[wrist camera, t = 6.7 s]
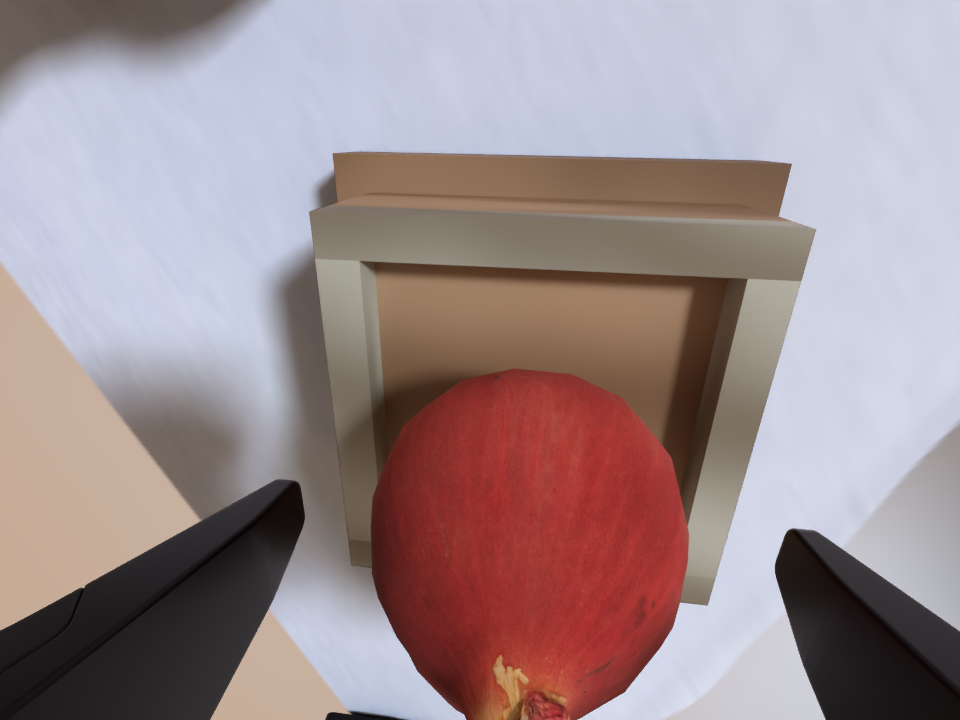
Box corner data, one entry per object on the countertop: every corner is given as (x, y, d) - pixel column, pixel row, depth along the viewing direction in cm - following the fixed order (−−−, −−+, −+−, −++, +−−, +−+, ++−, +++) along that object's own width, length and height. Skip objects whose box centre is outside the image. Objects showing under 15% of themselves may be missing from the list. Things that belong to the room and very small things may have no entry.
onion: (624, 525, 14) (713, 945, 7) (422, 501, 14) (294, 864, 7) (664, 328, 12) (870, 632, 4) (422, 308, 12) (231, 548, 5)
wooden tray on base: (683, 494, 19) (737, 635, 14) (382, 467, 20) (322, 586, 15) (760, 160, 14) (892, 173, 9) (357, 151, 16) (255, 158, 10)
